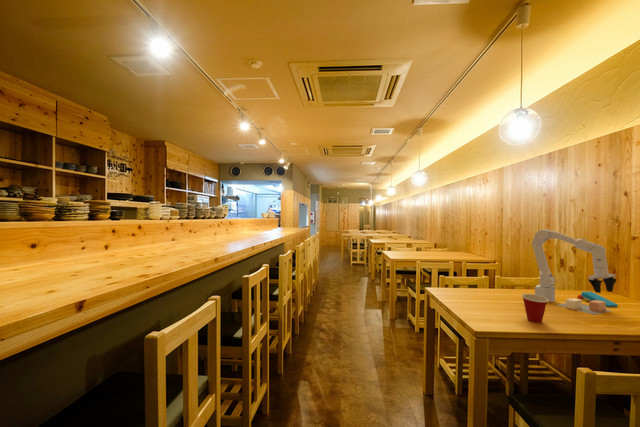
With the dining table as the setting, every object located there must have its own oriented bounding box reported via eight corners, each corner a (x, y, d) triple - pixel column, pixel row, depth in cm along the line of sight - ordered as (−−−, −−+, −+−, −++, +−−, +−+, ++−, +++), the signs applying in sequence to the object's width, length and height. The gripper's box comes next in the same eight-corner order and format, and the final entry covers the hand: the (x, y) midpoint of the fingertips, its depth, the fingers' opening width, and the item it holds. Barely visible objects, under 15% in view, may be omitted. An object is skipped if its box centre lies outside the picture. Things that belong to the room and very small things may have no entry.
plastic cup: (534, 325, 137) (534, 300, 137) (516, 317, 147) (516, 294, 147) (554, 324, 138) (554, 299, 138) (535, 316, 149) (535, 293, 149)
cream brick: (565, 307, 162) (565, 299, 162) (573, 306, 164) (573, 298, 164) (574, 309, 158) (574, 301, 158) (581, 308, 161) (581, 300, 161)
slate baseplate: (555, 306, 166) (555, 304, 166) (572, 303, 173) (572, 301, 173) (594, 316, 150) (594, 314, 150) (612, 312, 156) (612, 310, 156)
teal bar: (614, 315, 165) (581, 298, 183) (617, 304, 164) (585, 288, 181) (604, 315, 164) (572, 298, 181) (608, 305, 162) (575, 288, 180)
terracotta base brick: (589, 309, 158) (589, 301, 158) (596, 308, 161) (596, 299, 161) (598, 311, 155) (598, 303, 155) (605, 310, 157) (605, 301, 157)
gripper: (597, 268, 154) (600, 294, 153) (620, 266, 156) (623, 292, 155) (583, 267, 161) (586, 292, 160) (605, 265, 163) (608, 290, 162)
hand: (603, 292), depth 158 cm, fingers open, 7 cm apart
